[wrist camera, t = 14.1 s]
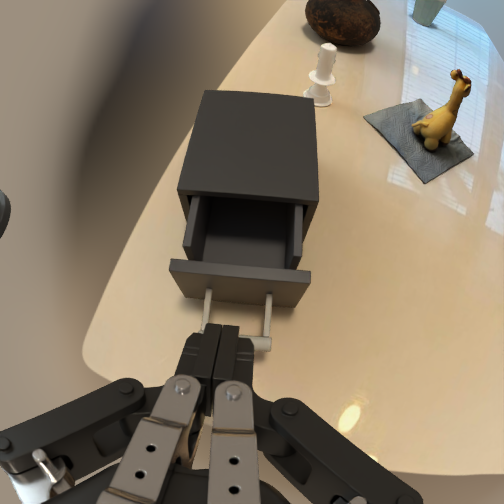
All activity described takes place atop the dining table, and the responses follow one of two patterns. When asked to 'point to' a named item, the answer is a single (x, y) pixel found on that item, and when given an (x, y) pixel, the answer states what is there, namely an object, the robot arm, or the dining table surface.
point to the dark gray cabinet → (253, 150)
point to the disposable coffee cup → (427, 11)
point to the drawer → (242, 256)
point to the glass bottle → (344, 20)
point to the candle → (322, 76)
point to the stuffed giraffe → (426, 131)
